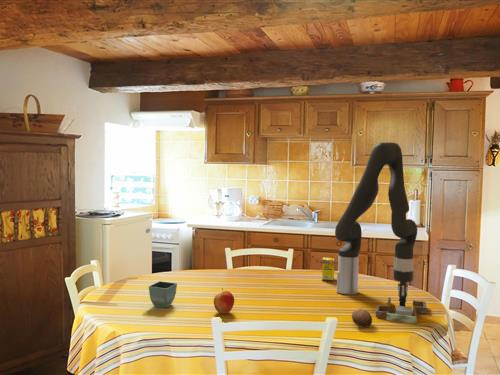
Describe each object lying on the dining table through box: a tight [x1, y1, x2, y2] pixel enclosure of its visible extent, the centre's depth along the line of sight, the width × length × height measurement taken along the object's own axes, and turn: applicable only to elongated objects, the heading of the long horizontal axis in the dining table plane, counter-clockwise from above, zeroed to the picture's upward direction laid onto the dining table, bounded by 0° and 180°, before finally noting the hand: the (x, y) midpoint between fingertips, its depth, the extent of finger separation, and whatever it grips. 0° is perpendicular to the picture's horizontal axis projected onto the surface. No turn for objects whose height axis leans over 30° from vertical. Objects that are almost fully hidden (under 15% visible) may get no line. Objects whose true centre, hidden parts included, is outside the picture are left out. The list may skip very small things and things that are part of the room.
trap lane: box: [375, 297, 428, 325], centre depth 180 cm, size 19×22×2 cm
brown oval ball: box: [351, 308, 373, 329], centre depth 166 cm, size 8×8×6 cm
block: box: [395, 305, 413, 316], centre depth 177 cm, size 6×6×4 cm
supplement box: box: [321, 257, 335, 282], centre depth 229 cm, size 6×6×11 cm
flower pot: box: [148, 280, 178, 309], centre depth 185 cm, size 9×9×9 cm
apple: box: [213, 287, 235, 315], centre depth 177 cm, size 8×8×10 cm
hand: (402, 310), depth 182 cm, fingers closed
